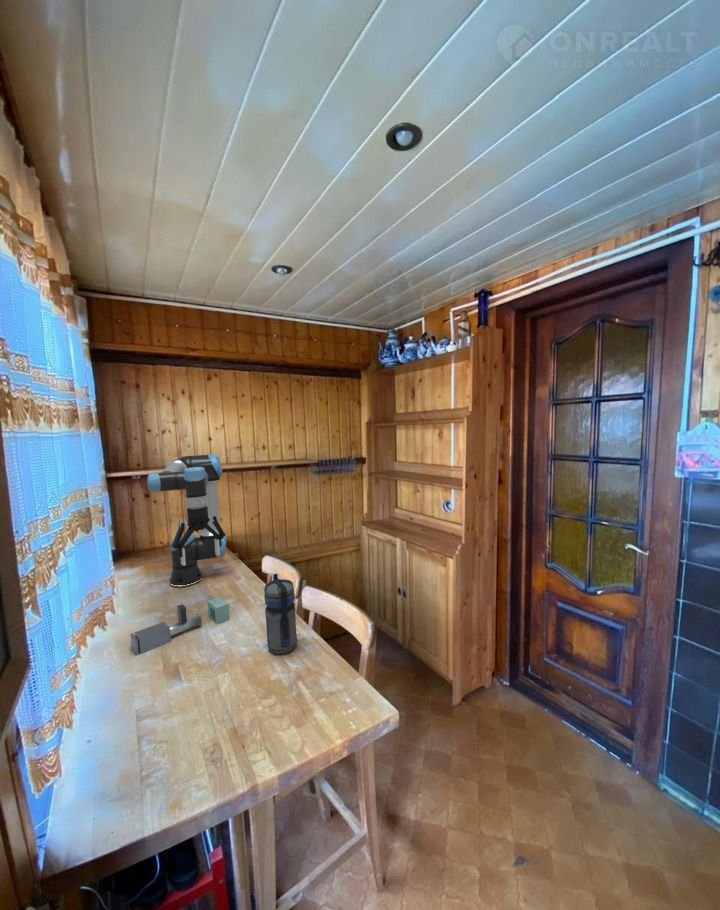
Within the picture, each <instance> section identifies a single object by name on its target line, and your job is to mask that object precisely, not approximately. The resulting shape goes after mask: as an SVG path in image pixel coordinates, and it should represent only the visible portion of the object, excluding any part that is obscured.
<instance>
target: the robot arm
mask: <svg viewBox="0 0 720 910" xmlns="http://www.w3.org/2000/svg"><path fill="white" fill-rule="evenodd" d="M223 474H224V473H223V467H222V463H221V460H220V457H219V455H217V454H209V453H208V454H201V455H199V454H198V455H185V456H184V455H183V456H181V457H178V458H175V459H173V460H171V461H170V462H168V464H167V465H166V466H165V468H164V469H163V470H162V471H161V472H153V473H149V474H148V476H147V479H146V481H147V489H148V491H149V492H152V493H155V492H156V493H160V492H168V491H179V490H180V491H181V490H184V491H185V503H186V504H185V505H186V508H187V509H186V517H187V518H186V519H187V520H186V521H185V522H184V521H180V522H178V529H177V531H176V535H175V537H174V539H173V540H172V541H171V543H170V552H171V562H172V570H171V574H170V578H169V584H170V583H171V584H173V585H187V584H191V583H194V582H196V581H198V580H200V579H201V578H202V579H203V574H202V571H201V569H200V567H199V564H198V561H204V560H210V559H211V560H212V559H217V558H223V557H225V555H226V552H227V551H226V550H227V541H228V539H227V537H228V535H227V533H225V530H223V528H222V526H221V521H220V520H221V518H220V506H219V505H220V504H219V503H220V502H219V491H218V489H219V488H218V483H219V482H220V481H221V477H223ZM187 526H188V528H187V529H186V532H185V528H186V527H187ZM199 531H201V532H200V533H199V536H198V537H197V536H196V535H195V534H193V533H195V532H199ZM184 532H185V533H184ZM183 534H184V535H183Z"/></svg>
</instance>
